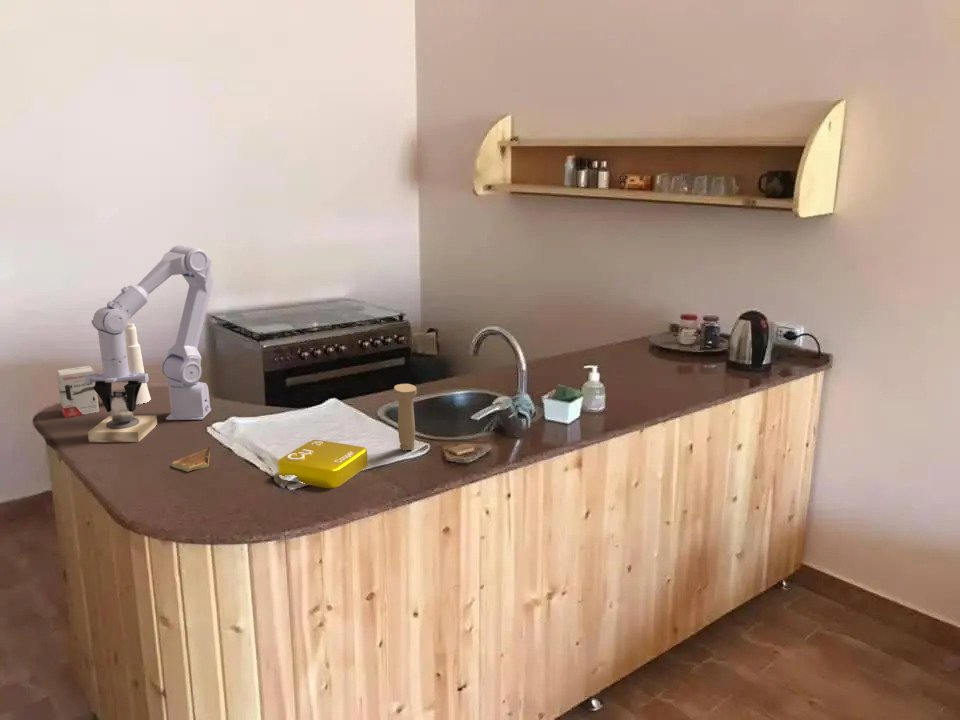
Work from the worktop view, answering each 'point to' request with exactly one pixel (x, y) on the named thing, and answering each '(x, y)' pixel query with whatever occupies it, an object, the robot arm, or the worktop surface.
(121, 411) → the cylinder
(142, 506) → the worktop surface
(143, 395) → the cosmetic bottle
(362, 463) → the element tile
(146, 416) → the stand
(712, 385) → the worktop surface
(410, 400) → the handle
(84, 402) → the ink box
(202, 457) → the shard
